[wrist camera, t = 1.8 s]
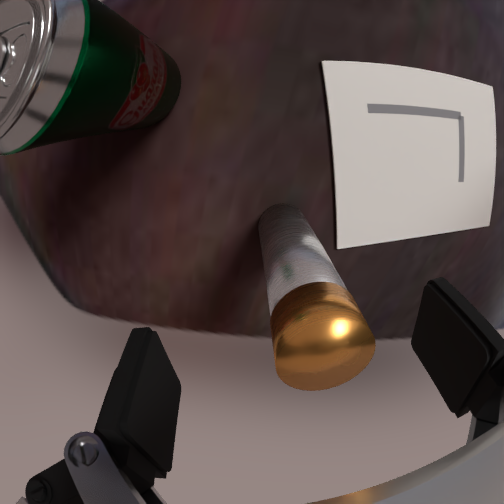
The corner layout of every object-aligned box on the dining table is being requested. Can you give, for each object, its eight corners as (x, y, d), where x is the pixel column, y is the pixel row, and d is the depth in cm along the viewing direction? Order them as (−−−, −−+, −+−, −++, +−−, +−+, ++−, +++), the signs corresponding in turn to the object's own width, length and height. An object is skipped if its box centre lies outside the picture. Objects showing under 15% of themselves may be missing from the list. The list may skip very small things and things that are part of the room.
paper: (490, 86, 13) (492, 86, 13) (487, 225, 18) (489, 225, 18) (321, 61, 13) (322, 60, 13) (336, 247, 18) (337, 249, 18)
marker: (304, 199, 17) (381, 311, 7) (307, 245, 18) (368, 379, 8) (254, 206, 17) (270, 331, 7) (260, 252, 18) (279, 396, 9)
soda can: (168, 137, 15) (30, 180, 4) (96, 121, 14) (-66, 154, 3) (195, 57, 13) (105, -48, 2) (119, 46, 12) (-24, -9, 1)
